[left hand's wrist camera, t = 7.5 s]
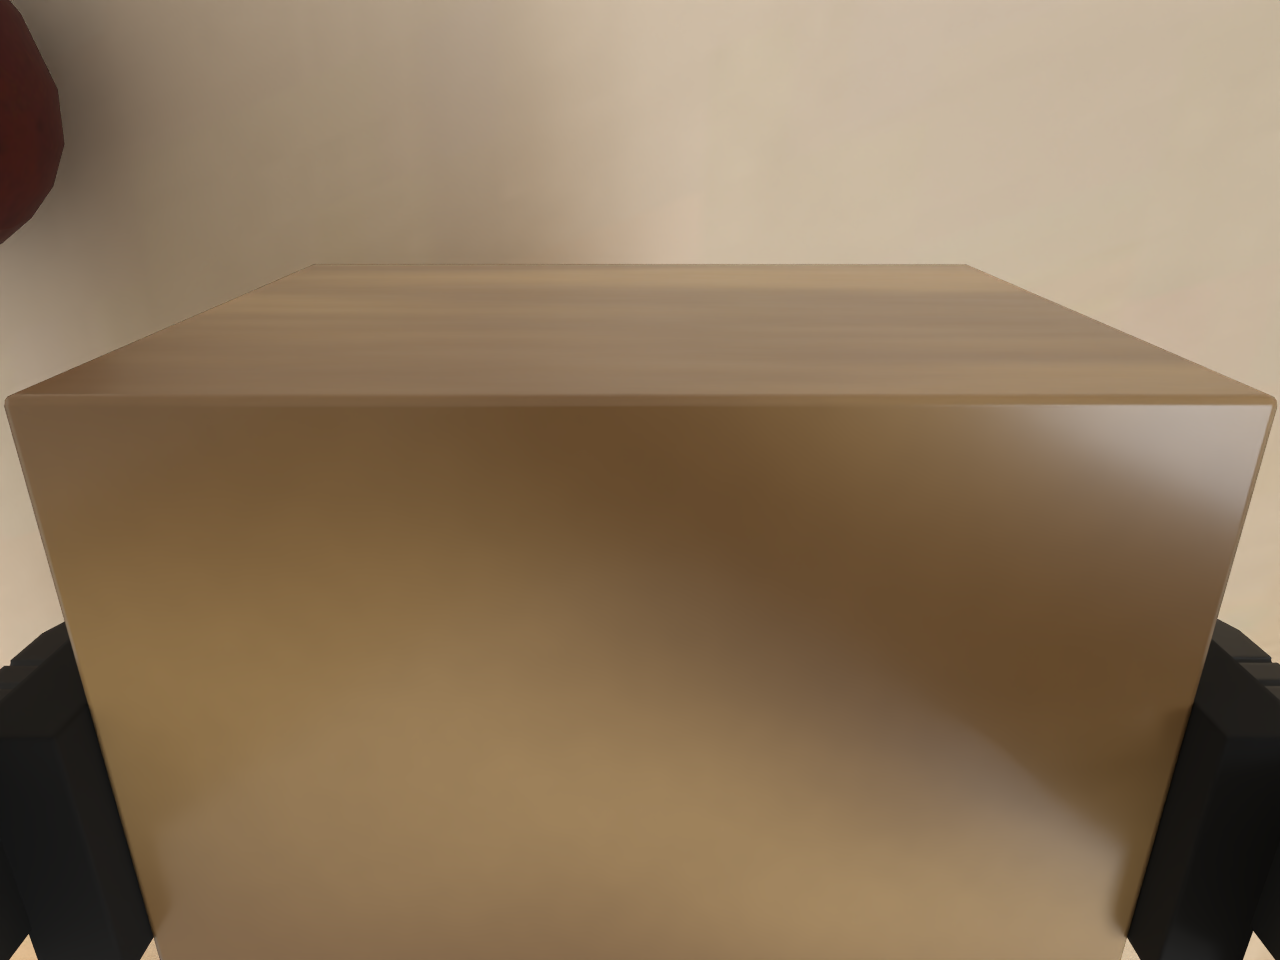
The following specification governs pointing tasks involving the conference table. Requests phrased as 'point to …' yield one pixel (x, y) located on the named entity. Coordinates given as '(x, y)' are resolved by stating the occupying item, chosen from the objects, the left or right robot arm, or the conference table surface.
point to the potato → (25, 124)
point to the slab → (640, 610)
